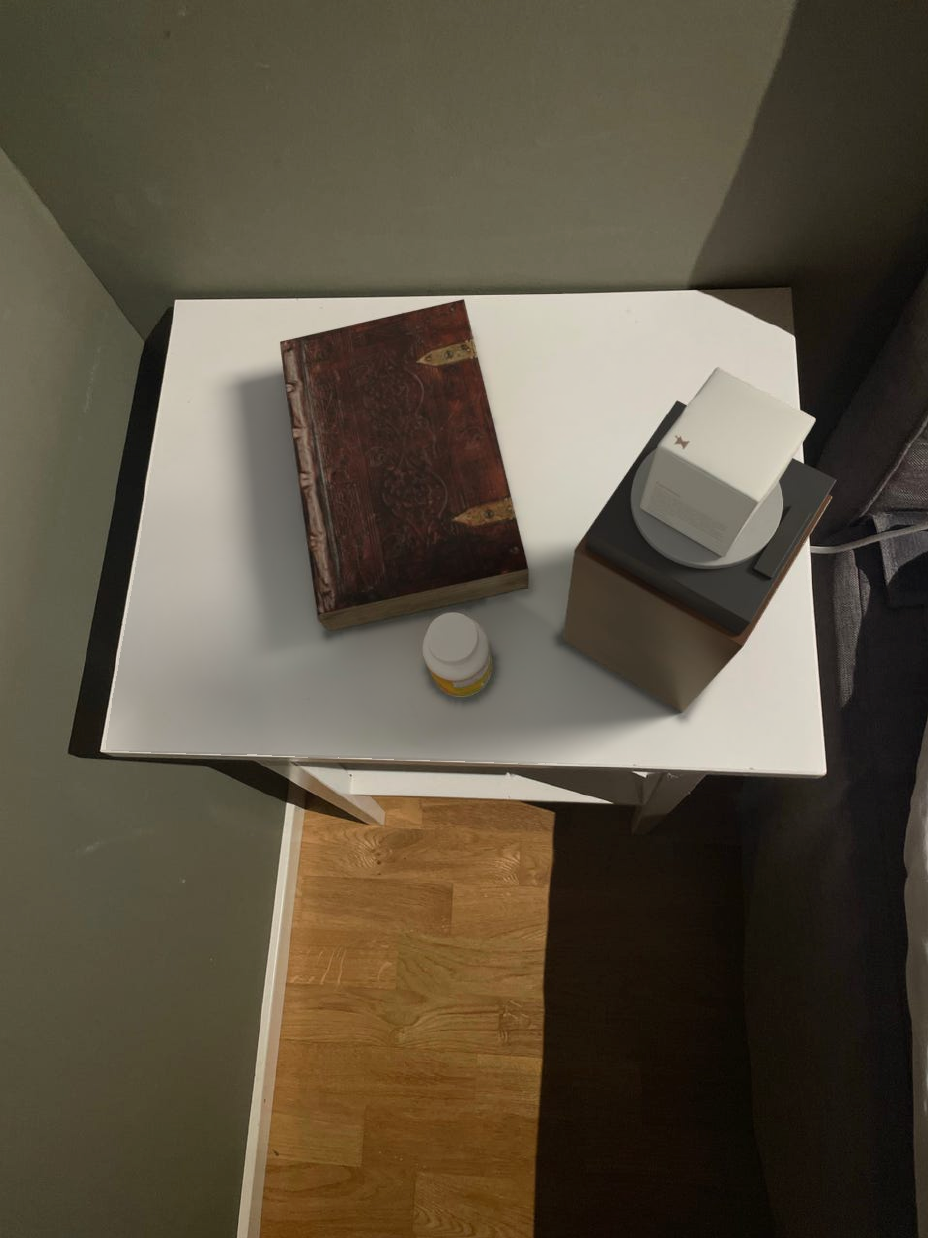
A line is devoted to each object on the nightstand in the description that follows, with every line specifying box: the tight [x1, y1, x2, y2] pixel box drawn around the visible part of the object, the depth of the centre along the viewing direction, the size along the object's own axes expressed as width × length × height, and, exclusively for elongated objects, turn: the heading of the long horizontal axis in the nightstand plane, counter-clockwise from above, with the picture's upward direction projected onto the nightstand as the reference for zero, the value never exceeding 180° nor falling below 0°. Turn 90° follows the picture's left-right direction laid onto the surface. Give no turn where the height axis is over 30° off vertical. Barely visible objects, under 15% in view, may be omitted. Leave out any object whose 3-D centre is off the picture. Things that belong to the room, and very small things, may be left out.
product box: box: [640, 367, 816, 557], centre depth 44 cm, size 6×6×7 cm
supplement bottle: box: [422, 611, 493, 698], centre depth 64 cm, size 5×5×10 cm
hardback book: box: [279, 298, 530, 632], centre depth 73 cm, size 29×19×5 cm, turn 11°
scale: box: [585, 400, 837, 635], centre depth 49 cm, size 11×11×3 cm
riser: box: [562, 415, 833, 713], centre depth 60 cm, size 12×12×20 cm
